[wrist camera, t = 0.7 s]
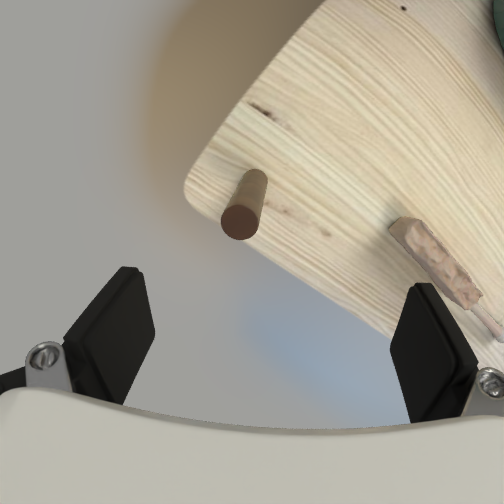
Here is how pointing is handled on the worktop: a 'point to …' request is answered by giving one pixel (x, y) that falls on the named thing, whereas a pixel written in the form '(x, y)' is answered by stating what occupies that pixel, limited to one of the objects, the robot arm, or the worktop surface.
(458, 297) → the tan handled block
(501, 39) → the mixing bowl
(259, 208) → the stick
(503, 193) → the worktop surface
